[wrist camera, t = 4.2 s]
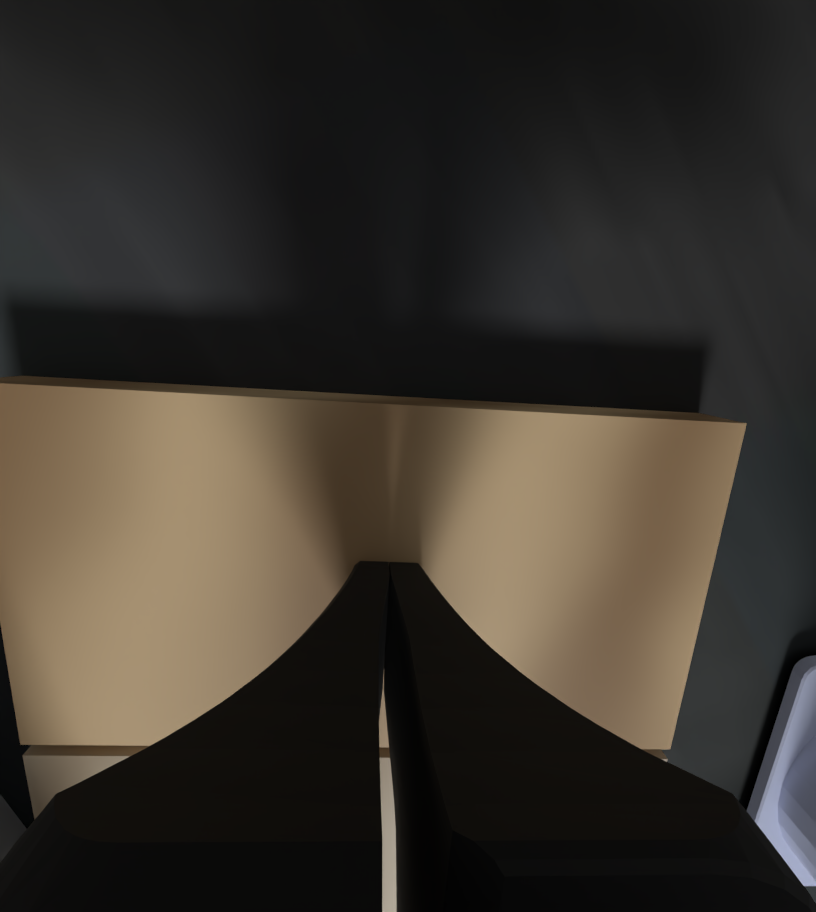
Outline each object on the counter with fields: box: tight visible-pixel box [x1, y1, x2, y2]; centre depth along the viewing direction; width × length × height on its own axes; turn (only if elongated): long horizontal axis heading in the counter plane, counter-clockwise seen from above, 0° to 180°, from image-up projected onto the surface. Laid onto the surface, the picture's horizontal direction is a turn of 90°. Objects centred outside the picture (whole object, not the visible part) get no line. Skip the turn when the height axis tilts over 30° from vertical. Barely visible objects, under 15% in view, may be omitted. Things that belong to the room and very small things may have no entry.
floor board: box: [22, 745, 668, 912], centre depth 13 cm, size 15×9×2 cm, turn 86°
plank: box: [0, 376, 747, 749], centre depth 11 cm, size 15×8×2 cm, turn 86°
